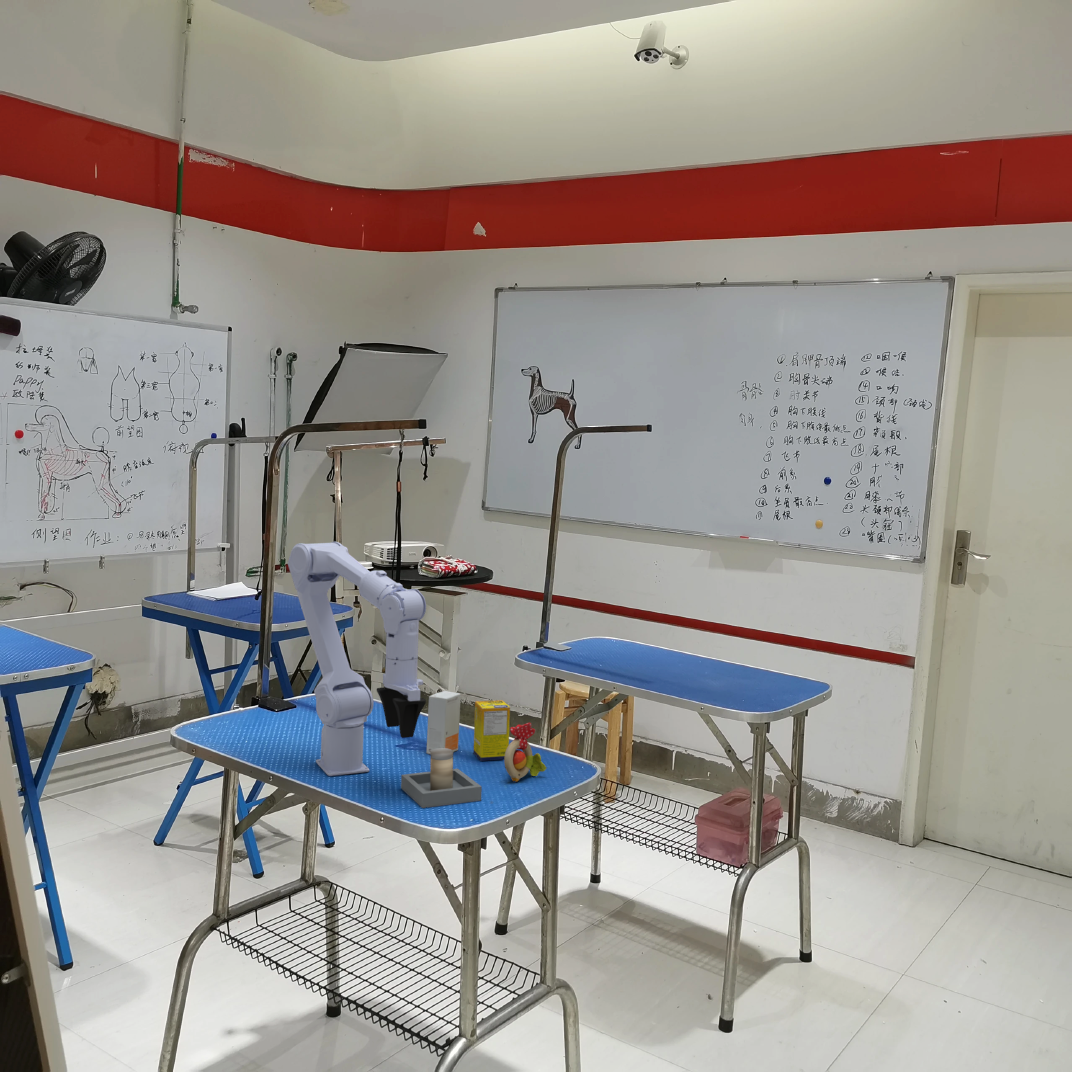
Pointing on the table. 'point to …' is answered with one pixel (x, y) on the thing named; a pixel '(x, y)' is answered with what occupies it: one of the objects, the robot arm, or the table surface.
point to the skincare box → (443, 721)
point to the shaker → (441, 769)
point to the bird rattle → (522, 754)
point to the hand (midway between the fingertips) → (399, 731)
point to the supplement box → (491, 729)
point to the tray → (421, 794)
